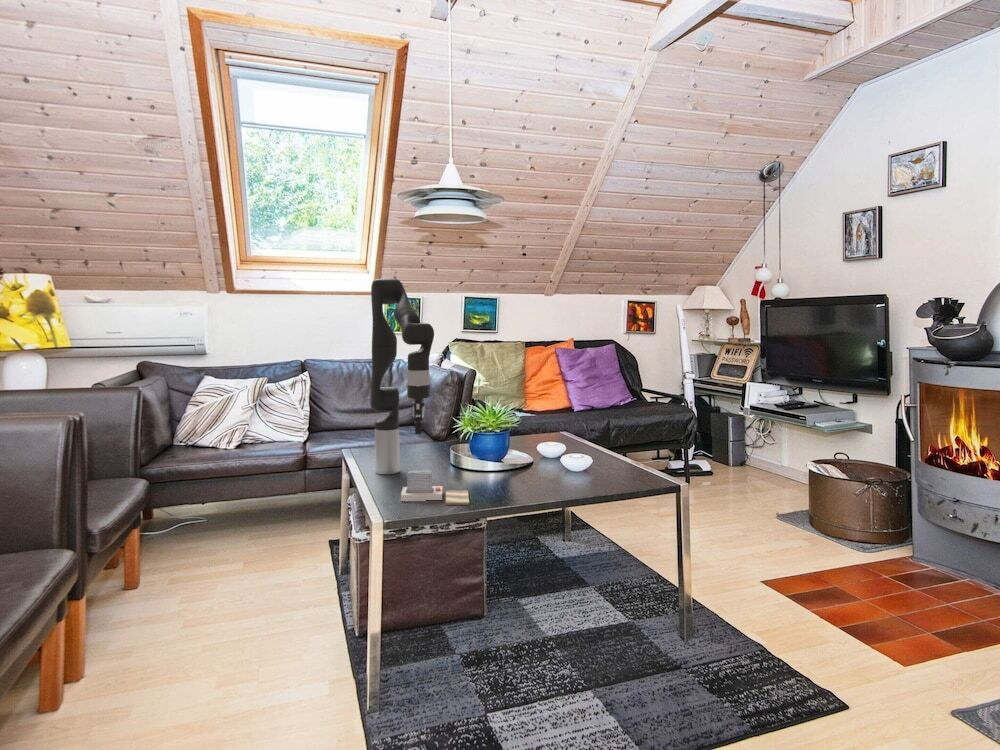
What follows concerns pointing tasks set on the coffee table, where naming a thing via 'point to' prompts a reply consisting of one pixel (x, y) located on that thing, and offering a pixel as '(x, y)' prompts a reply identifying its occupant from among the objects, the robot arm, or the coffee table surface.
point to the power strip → (422, 494)
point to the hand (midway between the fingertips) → (419, 431)
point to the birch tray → (457, 497)
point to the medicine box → (419, 481)
